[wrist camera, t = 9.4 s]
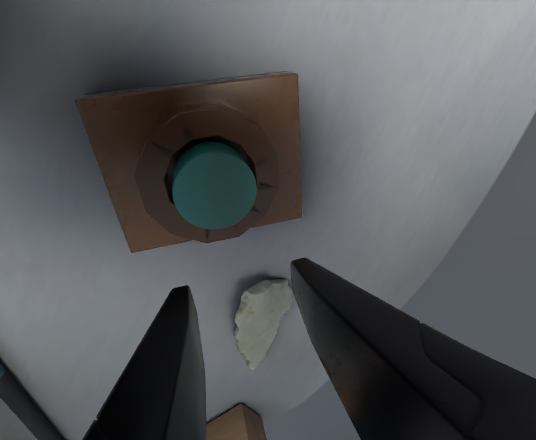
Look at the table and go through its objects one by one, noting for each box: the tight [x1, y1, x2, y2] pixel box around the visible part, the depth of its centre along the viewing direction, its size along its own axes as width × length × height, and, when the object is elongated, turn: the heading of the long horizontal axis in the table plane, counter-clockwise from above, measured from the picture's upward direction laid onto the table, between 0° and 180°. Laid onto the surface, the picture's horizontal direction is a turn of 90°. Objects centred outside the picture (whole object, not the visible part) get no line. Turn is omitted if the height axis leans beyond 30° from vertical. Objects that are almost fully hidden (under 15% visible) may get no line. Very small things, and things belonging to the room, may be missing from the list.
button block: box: [75, 71, 302, 253], centre depth 16 cm, size 10×8×4 cm
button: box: [172, 142, 257, 229], centre depth 14 cm, size 4×4×2 cm
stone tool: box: [234, 279, 294, 371], centre depth 24 cm, size 9×2×5 cm
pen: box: [0, 364, 62, 440], centre depth 22 cm, size 1×16×1 cm, turn 5°
